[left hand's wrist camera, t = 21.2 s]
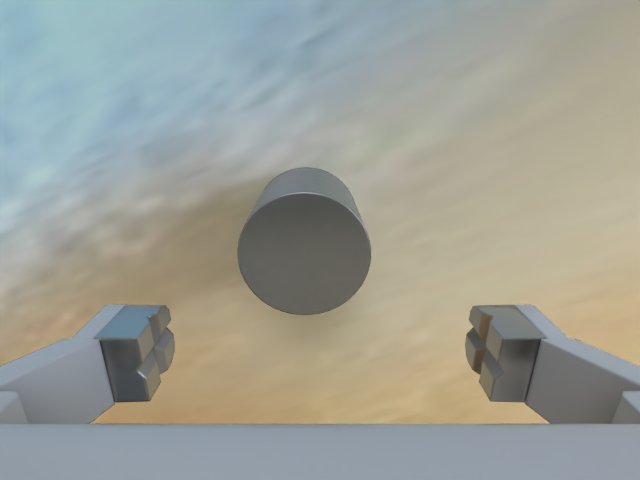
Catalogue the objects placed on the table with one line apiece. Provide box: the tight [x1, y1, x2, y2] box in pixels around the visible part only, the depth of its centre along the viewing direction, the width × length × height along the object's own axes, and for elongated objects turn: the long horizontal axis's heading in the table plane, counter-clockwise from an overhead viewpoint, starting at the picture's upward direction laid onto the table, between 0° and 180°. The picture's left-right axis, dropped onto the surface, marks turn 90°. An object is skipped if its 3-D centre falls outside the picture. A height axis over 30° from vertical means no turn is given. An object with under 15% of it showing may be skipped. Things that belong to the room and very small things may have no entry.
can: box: [238, 168, 371, 315], centre depth 16 cm, size 5×5×5 cm
